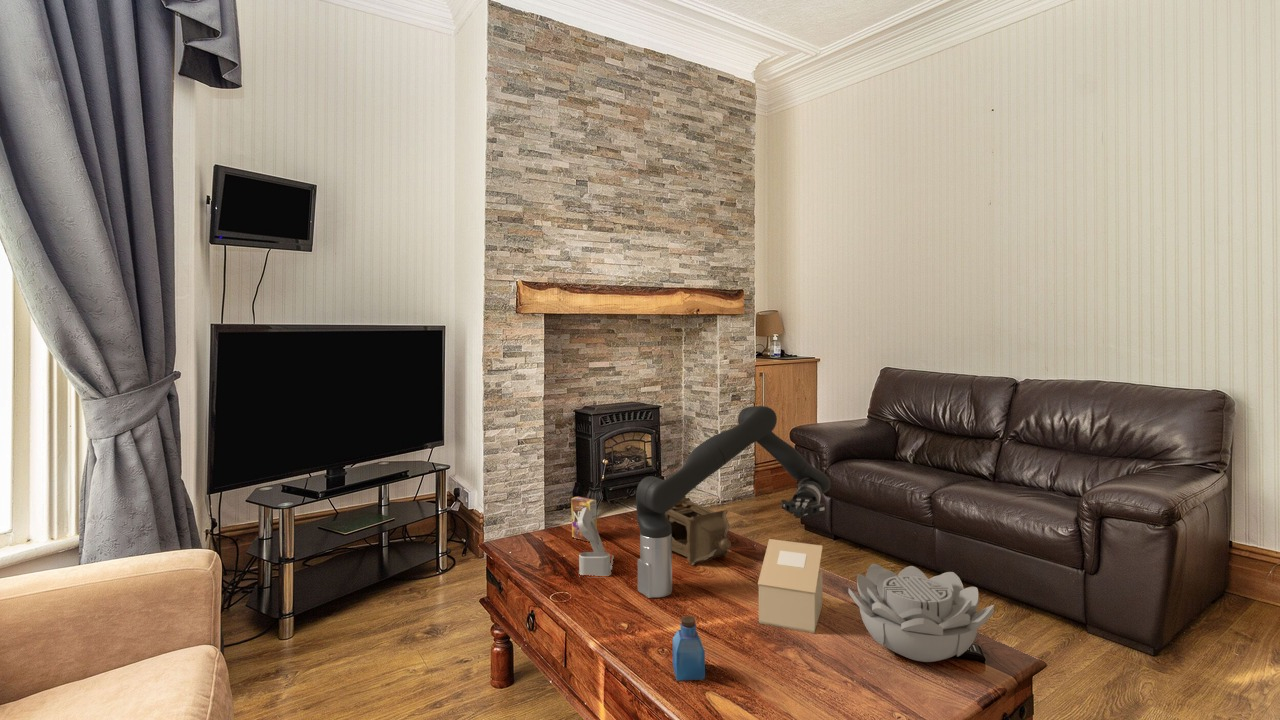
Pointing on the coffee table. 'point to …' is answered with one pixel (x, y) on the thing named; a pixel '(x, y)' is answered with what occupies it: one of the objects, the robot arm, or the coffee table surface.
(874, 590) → the decorative bowl
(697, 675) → the perfume bottle
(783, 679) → the coffee table surface
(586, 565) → the phone holder
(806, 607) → the cardboard carton
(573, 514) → the candy box
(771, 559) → the lid flap
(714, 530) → the brown lantern
